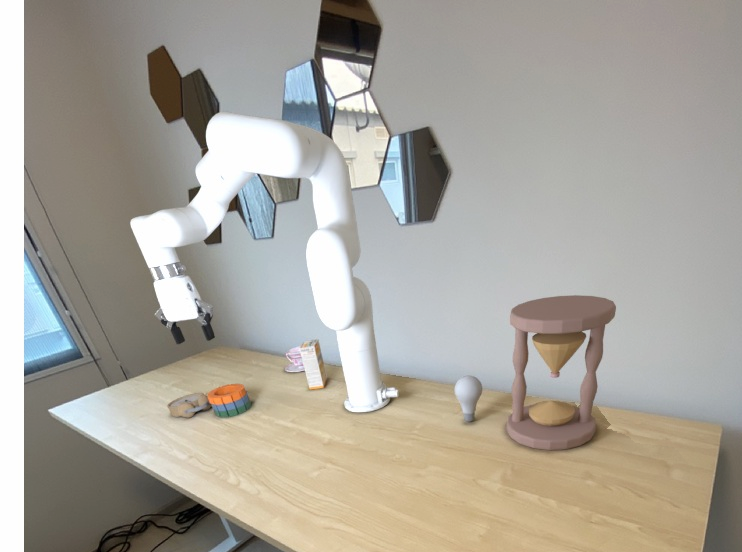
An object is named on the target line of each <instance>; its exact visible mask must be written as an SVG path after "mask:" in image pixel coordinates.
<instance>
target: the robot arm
mask: <svg viewBox="0 0 742 552" xmlns="http://www.w3.org/2000/svg"><path fill="white" fill-rule="evenodd" d="M205 140H206V146H207V149H208V151H207V152H206V153H205V154H203V156H202V158H201V159H200V160H199V161H198V162H197V164H196V165H195V170H194V171H195V176H196V179H197V182H198V183H199V185H200V188H199V190H198V192H197V193H196V195H195V196H194V197H193V199H192V200H191V201H190V202H189V203H188V205H186V206H184V207H183V206H181V207H172V208H163V209H160V210H158V211H155V212H154V213H151V214H145V215H139V216H135V217H133V218H132V219H130V222H129V224H130V228H131V231H132V232H133V235H134V237H135V240H136V242H137V244H138V247H139V249H140V251H141V254H142V256H143V258H144V260H145V263H146V265H147V268H148V269H149V272H150V274H151V276H152V279H153V281H154V282H153V287H154V292H155V294H156V298H157V301H158V303H159V306H160V307H159V309H158V310H157V311H156V312H155V313H154V316H155V317H156V318H157V319H158V320H159V321H160V323H161V324H162V325H163V326H164V327H166V329H167V330H169V331H170V333H171V335H172V337H173V339H174V341H175V343H176V345H181V344H183V343H184V342H185V341H186V339H185V336H184V334H183V331H182V330H181V327H180V326H178V323H179V322H184V321H191V320H196V321H197V322H199V323H200V324H202V325H201V330H202V332H203V335H204V337H205V339H206V341H207V342H210V341H212V340H214V339H215V338H216V335H215V332H214V329H213V327H212V324H211V323H212V319H213V316H214V306H213V304H211V303H208V302H206V301H203V300H202V297H201V296H200V292H199V291H198V289H197V287H196V285H195V283H194V282H193V280H192V279H191V276H189V275H186V273H185V272H186V271H187V267H186V265H185V264H182V263H181V261H180V258H179V256H178V253H177V251H176V248H181V247H184V246H189V245H193V244H198V243H201V242H203V241H205V240H206V239H207V238H208V237H209V236H210V235H211V234H212V233H213V232H214V231H215V230H216V229H217V228H218V227H219V226H220V224H221V223H222V222H223V220H224V219H225V217H226V215H227V214H228V213H227V212H228V210H229V206H230V203H231V202H232V200H233V199H234V198H235V197H236V196H237V195H238V194H239V192H240V191H241V190H242V189H243V188H244V187H245V185H247V183H248V182H249V181H250V180H251V179H252V178H253V177H254V176H255V175H256V174H259V175H266V176H271V177H277V178H283V179H307V180H309V182H310V183H311V187H312V203H313V209H314V214H315V220H316V224H317V228H316V230H315V231H314V232H312V233H311V235H310V236H309V239H308V240H307V244H306V251H305V252H306V254H305V255H306V256H305V257H306V266H307V271H308V276H309V280H310V285H311V289H312V294H313V299H314V304H315V308H316V311H317V312H316V313H317V314H318V317H319V319H320V320H321V322H322V323H323V324H324V326H326V327H327V328H329V329H330V330H332V331H335V332H336V333H335V334H336V340H337V346H338V351H339V356H340V361H341V365H342V371H343V376H344V381H345V386H346V390H347V395H348V397H347V398H345V401H343V404H344V405H343V406H344V408H345V410H347V411H349V412H352V413H371V412H374V411H377V410H380V409H382V408H384V407H385V406H386V405H388V404H389V402H390V400H391V398H399V395H400V392H399V389H397V388H396V386H394V387H388V386H386V383H385V382H384V381H382V375H381V369H380V362H379V361H380V360H379V356H378V355H379V354H378V349H377V341H376V335H375V328H374V315H373V313H374V312H373V311H374V310H373V300H372V295H371V291H370V289H369V286H367V284H366V283H365V282H364V281H363V280H362V279H360V278H358V277H356V276H354V273H353V268H354V267H355V266H356V265H357V264H358V262H359V261H360V258H361V249H362V248H361V242H360V237H359V230H358V223H357V216H356V210H355V205H354V198H353V190H352V184H351V177H350V172H349V167H348V164H347V161H346V159H345V156H344V154H343V151H342V150H341V149H340V148H339V146H338V145H337V143H336V142H335V141H334V140H333V139H332V138H331V137H329V136H328V135H327V134H325V133H323V132H322V131H319V130H318V129H315V128H312V127H310V126H307V125H303V124H300V123H296V122H293V121H292V122H291V121H288V120H285V119H277V118H270V117H263V116H256V115H255V116H254V115H247V114H242V113H236V112H232V111H226V110H225V111H224V110H223V111H220V112H217V113H215V114H214V115H213V116H212V117H210V119H209V121H208V123H207V125H206V130H205Z"/></svg>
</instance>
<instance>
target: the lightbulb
mask: <svg viewBox="0 0 742 552" xmlns="http://www.w3.org/2000/svg"><path fill="white" fill-rule="evenodd" d="M482 393H483V384H482V382H481V380H480V379H479V378H477V377H476V376H474V375H465V376H461V377H460V378H459V379H458V380H457V382H455V385H454V396H455V397H456V399H457V401H458V402H459V403H460V404H459V405H460V407H461V412H462V417H463V420H464V421H466V422H467V423H471V422H472V421H474V420H475V419H476V418H475V417H476V411H477V404H478V402H479V400H480V398H481V396H482Z"/></svg>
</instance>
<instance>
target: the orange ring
mask: <svg viewBox="0 0 742 552" xmlns="http://www.w3.org/2000/svg"><path fill="white" fill-rule="evenodd" d="M246 391H247V390H246V388H245V385H244V384H242V383H228V384H225V385H221V386H218V387H216V388H214V389H212V390H210V391H209V392H208V393H207V394H206V395H207V397H208V399H209V402H210V403H211V404H214V405H215V404H216V405H222V404H227V403H231V402H233V401H237V400H239V399H241V398H242V397H244V396H245V395H246ZM227 393H230V394H227ZM224 394H226V395H224Z"/></svg>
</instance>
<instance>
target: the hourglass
mask: <svg viewBox="0 0 742 552" xmlns="http://www.w3.org/2000/svg"><path fill="white" fill-rule="evenodd" d="M616 311H617V305H616V304H615V302H614V301H613V300H612V299H609V298H605V297H603V296H602V297H601V296H594V295H578V294H577V295H576V294H575V295H557V296H547V297H542V298H537V299H536V298H535V299H531V300H527V301H525V302H521V303H519V304H517V305H516V306H514V307H512V308H511V309H510V313H509V324H510V326H512V327H513V328H514V329H515V334H514V347H513V351H512V364H513V369H514V372H515V375H514V379H513V381H512V385H511V399H512V400H511V401H512V412H511V414H510V415H509V416H507V420H506V433H507V434H508V435H509V437H510V438H511V439H512V440H514V441H515V442H516V443H518V444H519V445H522V446H525V447H528V448H532V449H534V450H535V449H536V450H537V449H538V450H544V451H559V450H560V451H561V450H562V451H563V450H569V449H573V448H578V447H580V446H582V445H584V444H585V443H587V442H589V441H591V439H592V438H593V436H594V435H595V433H596V430H597V423H596V419H595V417H594V416H593V415H592V412H593V407H594V406H593V405H594V401H595V398H596V396H597V393H598V378H597V373H596V372H597V370H598V368H599V366H600V364H601V362H602V360H603V355H604V336H605V331H606V325H608V324H610V323H611V321H612V320H613V319H614V318H615V316H616ZM585 331H589V338H588V342H587V345H586V349H585V354H584V362H585V368H586V373H585V375H584V377H583V380H582V382H581V384H580V389H579V394H580V395H579V396H580V403H579V406H577V405H576V406H575V405H572V404H569V403H567V402H564V401H560V400H543V401H539V402H536V403H534V404H529V405H525V401H526V396H527V387H528V385H527V382H526V377H525V372H526V368H527V365H528V362H529V345H528V340H529V339H528V337H529V333H532V334H533V335H532V337H531V338H532V339H531V340H532V343H533V347H535V350H536V351H537V352H538V354H539V355H540V357H541V359H542V360H543V361H544V363H545V364H546V366H547V367H548V368H549V370H550V371H551V372H550V377H551V378H553V379H554V378H555V379H556V378H559V377H560V376H561V375H560V374H561V373H560V371H561V370H562V368H564V367H565V365H566V364H567V363H568V362H569V361H570V360H571V358H572V357H573V356H574V355H575V354H576V352H577V351H578V350H579V349H580V347H581V346H582V345H583V344H584V343H585V340H586V338H587V333H585Z"/></svg>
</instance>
